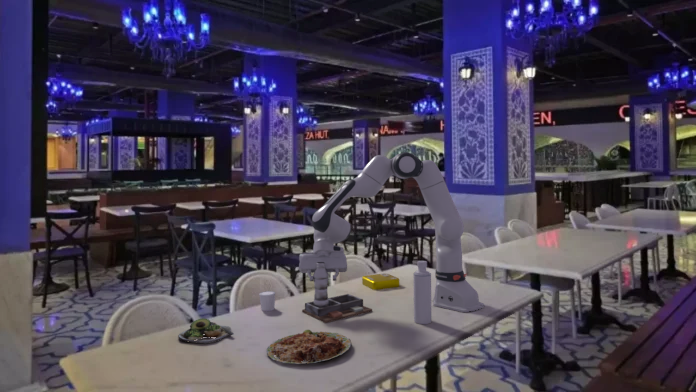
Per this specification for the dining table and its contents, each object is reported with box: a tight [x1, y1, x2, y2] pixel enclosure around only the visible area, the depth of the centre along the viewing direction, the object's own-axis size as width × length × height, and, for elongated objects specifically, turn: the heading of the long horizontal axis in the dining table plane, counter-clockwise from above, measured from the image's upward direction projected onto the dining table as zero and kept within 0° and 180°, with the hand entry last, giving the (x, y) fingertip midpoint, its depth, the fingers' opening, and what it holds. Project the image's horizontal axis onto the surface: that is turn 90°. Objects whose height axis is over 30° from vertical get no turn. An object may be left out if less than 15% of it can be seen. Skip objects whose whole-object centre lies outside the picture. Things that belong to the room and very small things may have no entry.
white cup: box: [258, 290, 276, 312], centre depth 204 cm, size 7×7×7 cm
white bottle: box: [413, 260, 432, 325], centre depth 183 cm, size 7×7×25 cm
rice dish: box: [266, 329, 352, 365], centre depth 158 cm, size 28×28×5 cm
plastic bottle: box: [312, 262, 329, 308], centre depth 196 cm, size 6×7×20 cm
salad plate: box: [177, 318, 234, 344], centre depth 173 cm, size 19×18×5 cm
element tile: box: [361, 272, 400, 291], centre depth 240 cm, size 15×15×5 cm
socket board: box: [301, 293, 373, 324], centre depth 198 cm, size 18×23×4 cm
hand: (323, 280), depth 195 cm, fingers open, 8 cm apart
